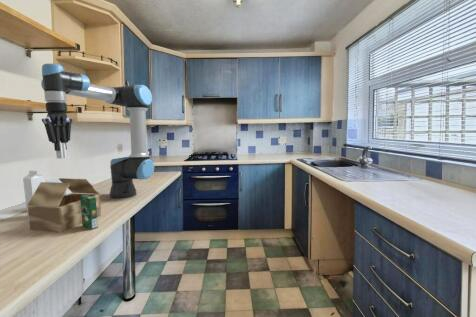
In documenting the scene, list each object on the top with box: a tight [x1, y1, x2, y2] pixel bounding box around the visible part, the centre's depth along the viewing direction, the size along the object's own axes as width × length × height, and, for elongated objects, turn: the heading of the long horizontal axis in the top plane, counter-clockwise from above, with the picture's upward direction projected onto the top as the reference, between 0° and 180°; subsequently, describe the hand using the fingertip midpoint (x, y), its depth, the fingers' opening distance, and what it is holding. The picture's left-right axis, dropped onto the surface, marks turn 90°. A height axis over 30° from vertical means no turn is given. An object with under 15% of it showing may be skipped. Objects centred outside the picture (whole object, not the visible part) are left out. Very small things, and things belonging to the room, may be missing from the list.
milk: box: [22, 170, 46, 219], centre depth 135 cm, size 6×6×22 cm
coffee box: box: [80, 195, 99, 230], centre depth 118 cm, size 8×3×13 cm, turn 54°
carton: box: [28, 192, 102, 233], centre depth 126 cm, size 22×16×10 cm
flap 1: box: [28, 182, 70, 207], centre depth 117 cm, size 10×15×1 cm
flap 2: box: [58, 177, 100, 195], centre depth 132 cm, size 10×15×1 cm
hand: (61, 158), depth 123 cm, fingers closed
